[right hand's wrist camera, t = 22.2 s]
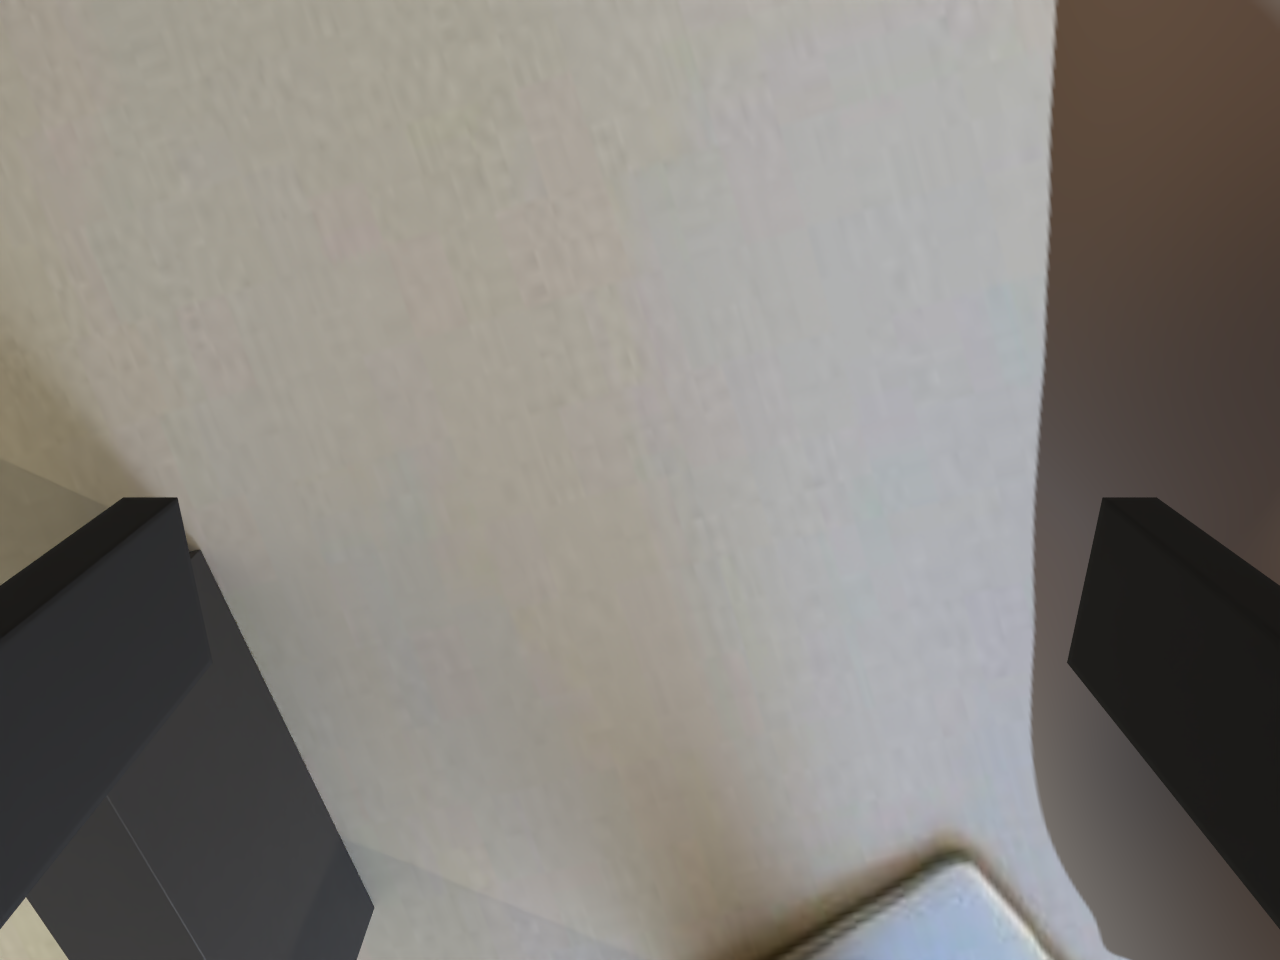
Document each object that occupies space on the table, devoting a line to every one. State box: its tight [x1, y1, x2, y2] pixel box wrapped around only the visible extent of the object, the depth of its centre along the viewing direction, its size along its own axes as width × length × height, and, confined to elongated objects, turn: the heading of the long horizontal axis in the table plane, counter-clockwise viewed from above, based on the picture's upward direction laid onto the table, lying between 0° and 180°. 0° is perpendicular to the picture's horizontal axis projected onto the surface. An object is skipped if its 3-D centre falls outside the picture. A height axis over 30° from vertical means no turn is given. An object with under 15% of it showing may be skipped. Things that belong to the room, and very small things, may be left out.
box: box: [26, 550, 374, 960], centre depth 46 cm, size 26×6×13 cm, turn 14°
